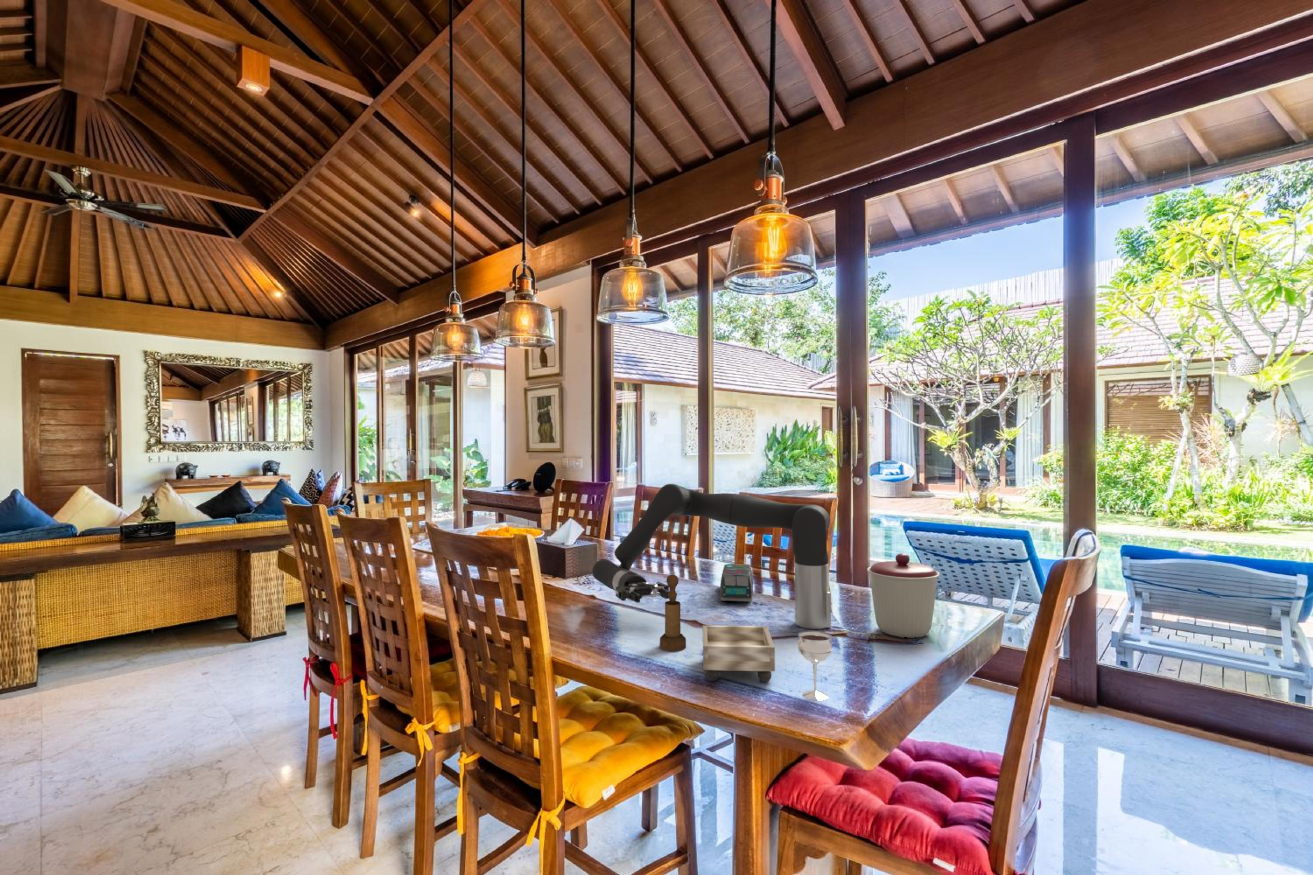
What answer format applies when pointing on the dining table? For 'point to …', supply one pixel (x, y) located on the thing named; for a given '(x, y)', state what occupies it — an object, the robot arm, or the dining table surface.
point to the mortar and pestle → (672, 620)
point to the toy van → (736, 583)
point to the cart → (738, 650)
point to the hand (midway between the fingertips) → (653, 596)
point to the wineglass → (815, 655)
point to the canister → (903, 596)
